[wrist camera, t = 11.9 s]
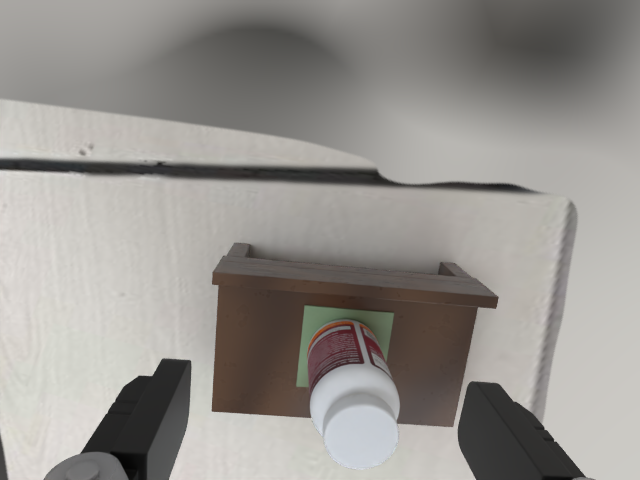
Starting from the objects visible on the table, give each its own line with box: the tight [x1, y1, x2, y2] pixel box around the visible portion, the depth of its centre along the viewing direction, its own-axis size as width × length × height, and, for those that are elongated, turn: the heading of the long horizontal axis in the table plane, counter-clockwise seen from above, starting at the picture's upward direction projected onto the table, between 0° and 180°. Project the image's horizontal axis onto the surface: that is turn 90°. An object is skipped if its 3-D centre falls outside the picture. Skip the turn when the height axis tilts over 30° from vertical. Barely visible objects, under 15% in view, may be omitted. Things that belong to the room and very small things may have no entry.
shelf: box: [212, 243, 499, 427], centre depth 38 cm, size 22×14×9 cm, turn 84°
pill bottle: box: [307, 319, 400, 469], centre depth 31 cm, size 6×6×11 cm
